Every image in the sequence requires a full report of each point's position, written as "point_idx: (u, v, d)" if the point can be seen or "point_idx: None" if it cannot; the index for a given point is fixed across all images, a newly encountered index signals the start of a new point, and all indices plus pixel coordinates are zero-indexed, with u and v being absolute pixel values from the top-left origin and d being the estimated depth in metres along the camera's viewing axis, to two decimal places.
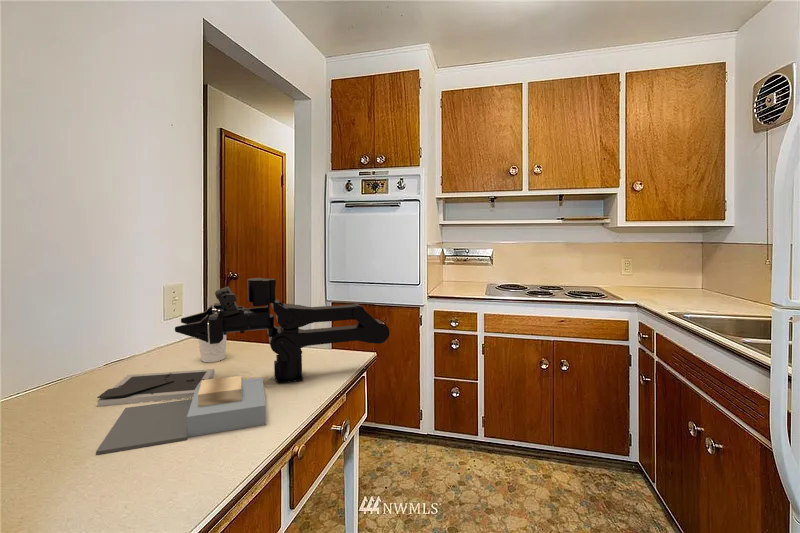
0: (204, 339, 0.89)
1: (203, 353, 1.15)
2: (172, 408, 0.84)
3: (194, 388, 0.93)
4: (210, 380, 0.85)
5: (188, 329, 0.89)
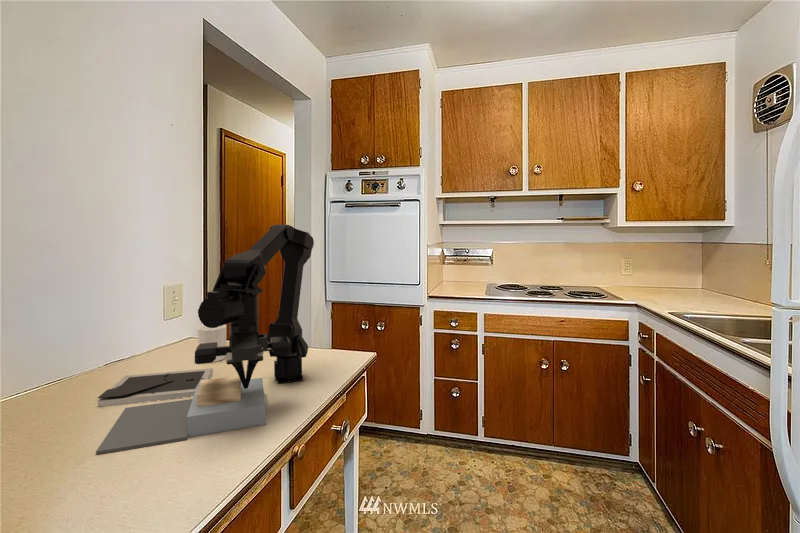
0: None
1: None
2: (172, 408, 0.84)
3: (195, 387, 0.94)
4: (209, 380, 0.85)
5: None
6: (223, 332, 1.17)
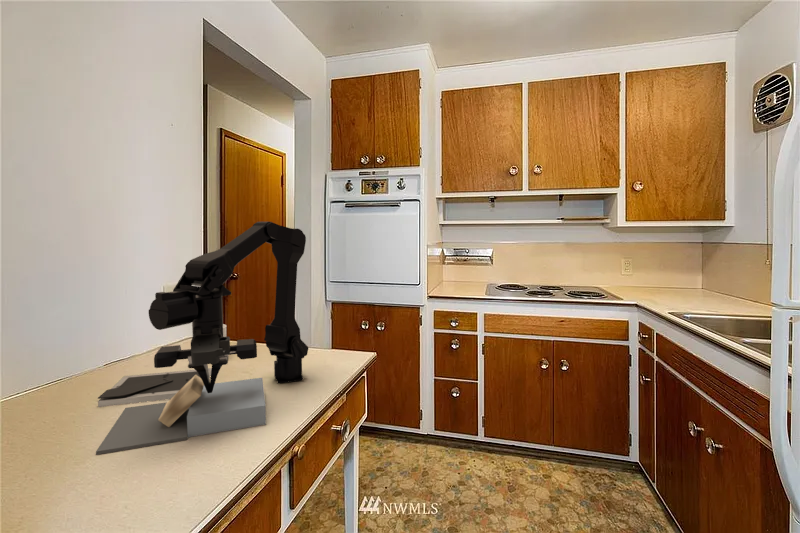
0: None
1: None
2: None
3: None
4: (172, 397, 0.82)
5: None
6: (223, 332, 1.17)
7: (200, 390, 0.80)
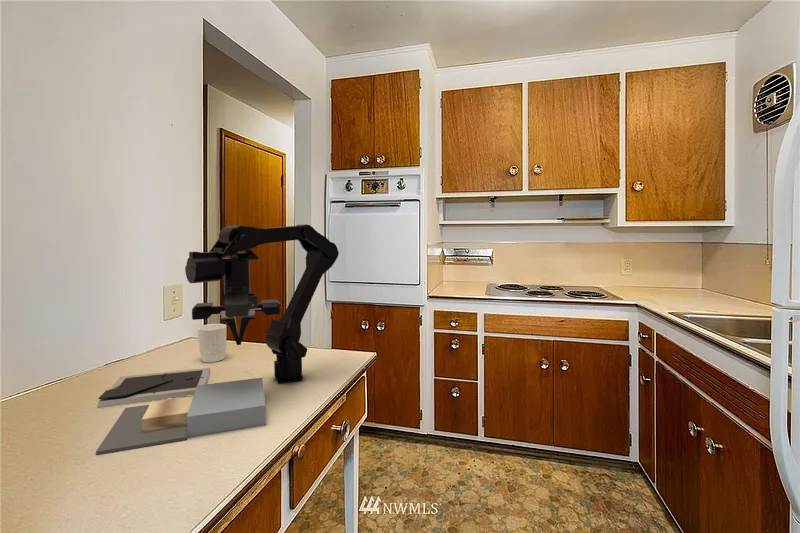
0: None
1: (203, 353, 1.15)
2: None
3: (196, 386, 0.95)
4: (160, 402, 0.82)
5: None
6: (223, 332, 1.17)
7: None
